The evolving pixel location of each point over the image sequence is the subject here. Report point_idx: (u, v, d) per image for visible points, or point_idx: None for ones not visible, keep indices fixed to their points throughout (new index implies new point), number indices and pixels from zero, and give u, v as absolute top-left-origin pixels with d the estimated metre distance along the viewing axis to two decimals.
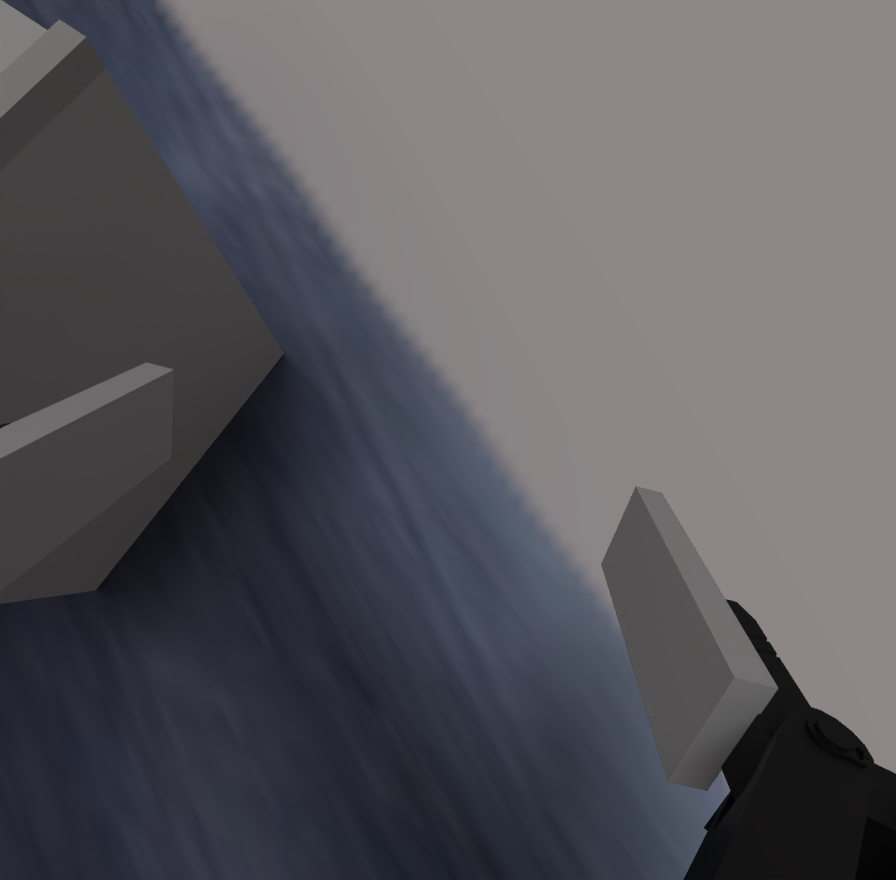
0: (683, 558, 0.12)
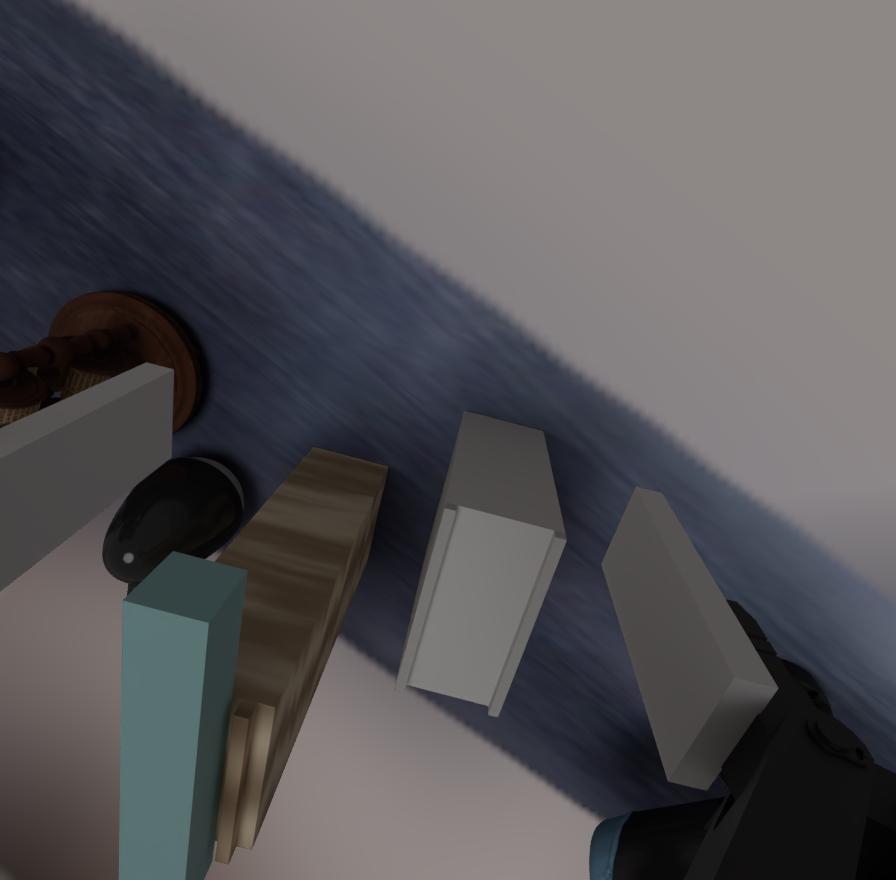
0: (683, 558, 0.12)
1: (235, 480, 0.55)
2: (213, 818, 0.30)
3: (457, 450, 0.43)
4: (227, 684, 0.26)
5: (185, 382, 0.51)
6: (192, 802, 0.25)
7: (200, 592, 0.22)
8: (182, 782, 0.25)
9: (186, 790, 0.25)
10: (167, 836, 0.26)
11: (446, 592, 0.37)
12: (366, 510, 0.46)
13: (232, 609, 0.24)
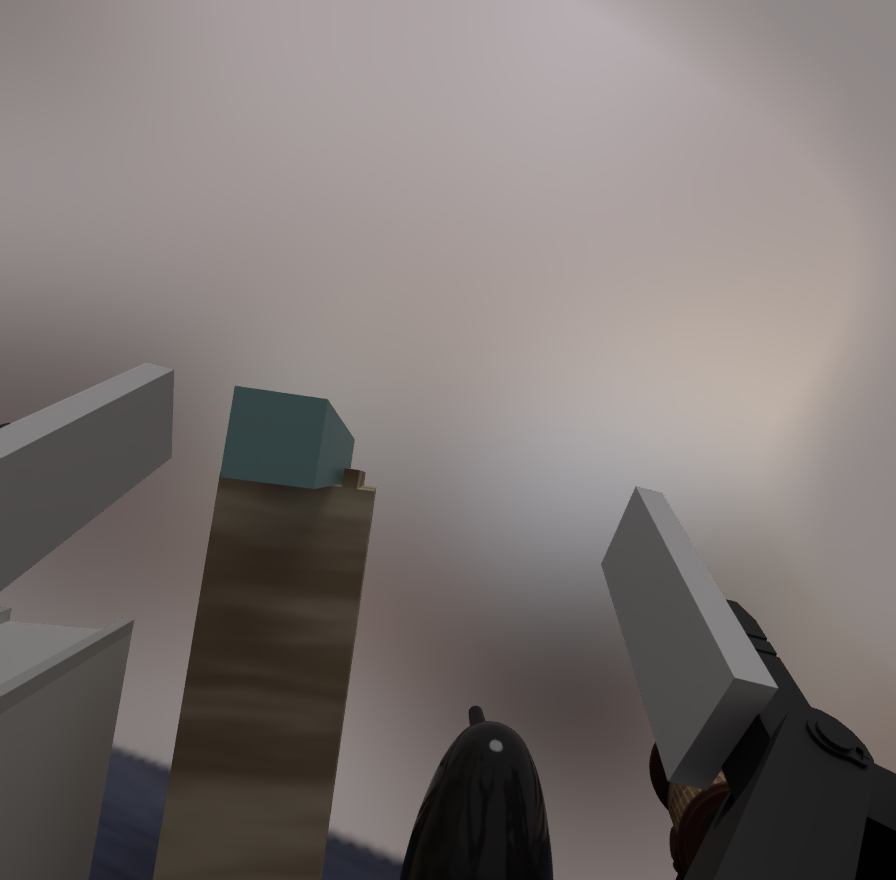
0: (683, 558, 0.12)
1: None
2: None
3: None
4: None
5: None
6: None
7: (258, 427, 0.20)
8: None
9: None
10: None
11: None
12: None
13: None
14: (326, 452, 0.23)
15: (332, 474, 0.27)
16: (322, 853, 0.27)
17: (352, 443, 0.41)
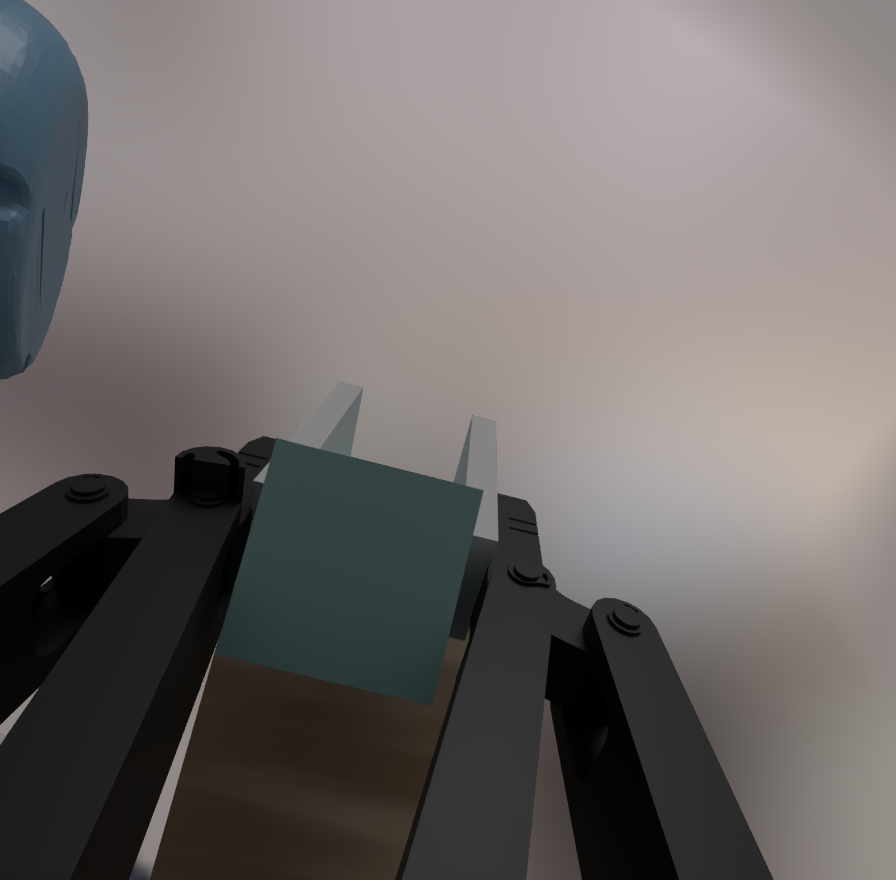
0: (478, 462, 0.14)
1: None
2: None
3: None
4: None
5: None
6: None
7: (318, 541, 0.09)
8: None
9: None
10: None
11: None
12: None
13: None
14: None
15: None
16: None
17: None
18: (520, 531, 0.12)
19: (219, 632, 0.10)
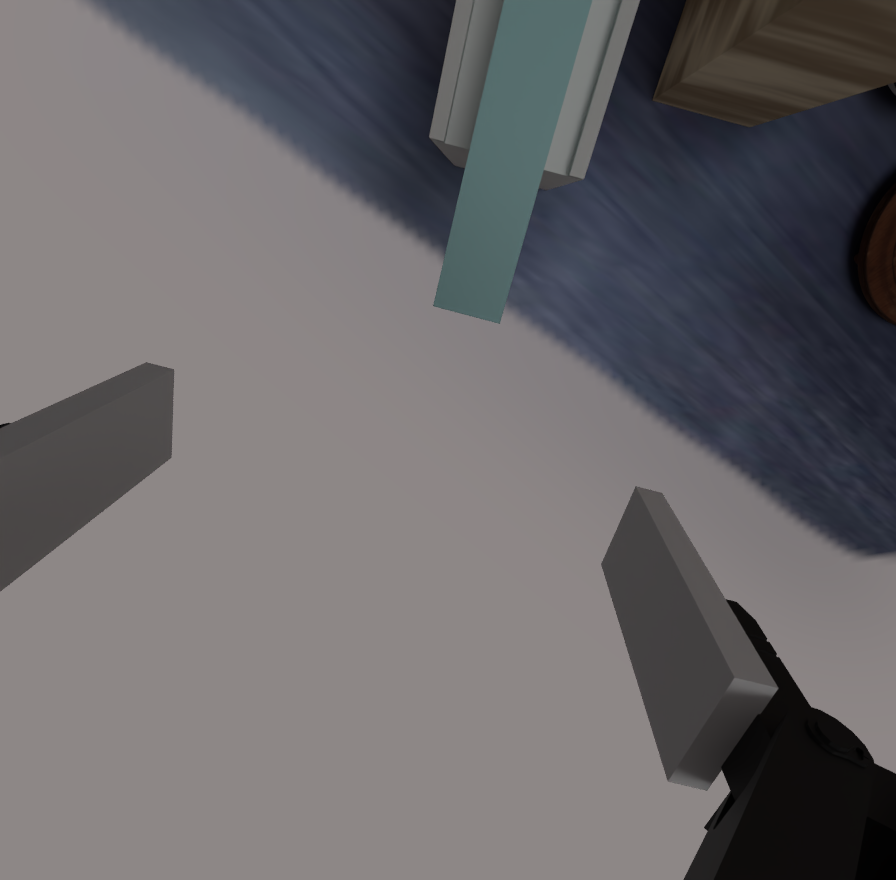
0: (683, 558, 0.12)
1: None
2: None
3: (559, 185, 0.36)
4: None
5: (888, 229, 0.42)
6: (493, 48, 0.23)
7: None
8: (496, 87, 0.23)
9: (494, 74, 0.23)
10: None
11: (594, 9, 0.25)
12: (695, 73, 0.33)
13: None
14: None
15: None
16: (835, 100, 0.31)
17: None
18: (758, 652, 0.10)
19: None
